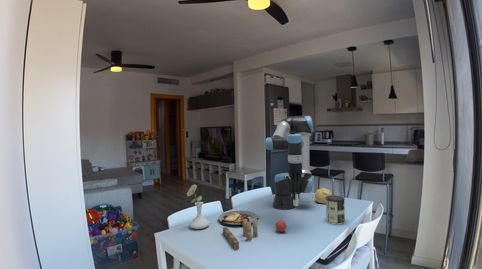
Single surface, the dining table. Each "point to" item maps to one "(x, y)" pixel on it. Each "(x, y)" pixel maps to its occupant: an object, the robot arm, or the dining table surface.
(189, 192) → the flower in vase
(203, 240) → the dining table surface
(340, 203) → the coffee can
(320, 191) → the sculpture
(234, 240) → the back wall
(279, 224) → the ball
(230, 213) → the food plate
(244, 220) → the pin
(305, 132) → the robot arm
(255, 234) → the front pin
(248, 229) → the pin
